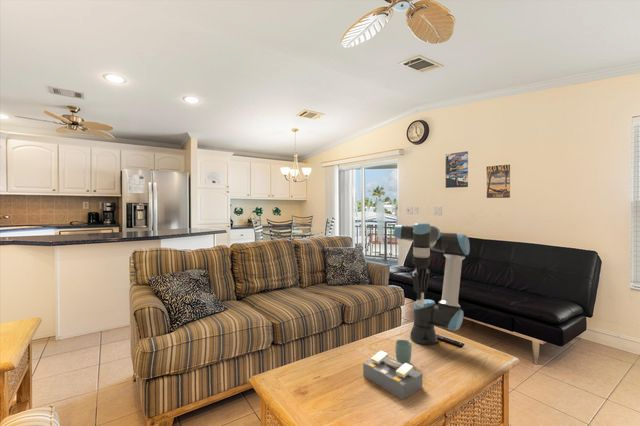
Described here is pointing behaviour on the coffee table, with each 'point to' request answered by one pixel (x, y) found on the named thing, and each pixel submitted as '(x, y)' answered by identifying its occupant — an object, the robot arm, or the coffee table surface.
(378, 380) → the console
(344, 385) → the coffee table surface
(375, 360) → the rocker
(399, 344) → the cup
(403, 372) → the block
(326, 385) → the coffee table surface
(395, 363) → the rocker
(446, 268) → the robot arm
